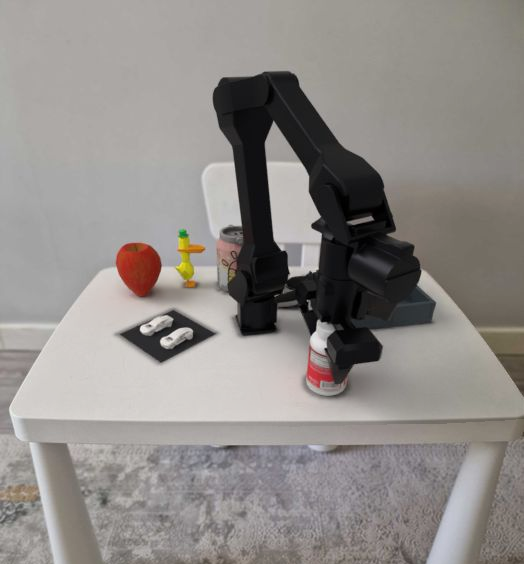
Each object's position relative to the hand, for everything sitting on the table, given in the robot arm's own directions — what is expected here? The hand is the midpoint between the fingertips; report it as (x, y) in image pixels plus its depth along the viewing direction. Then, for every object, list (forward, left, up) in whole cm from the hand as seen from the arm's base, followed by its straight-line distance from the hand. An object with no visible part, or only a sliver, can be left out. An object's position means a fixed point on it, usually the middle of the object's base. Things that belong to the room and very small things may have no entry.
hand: (328, 366), depth 68 cm
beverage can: (-7, +35, -4) cm, 36 cm away
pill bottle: (0, 0, -4) cm, 4 cm away
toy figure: (-17, +37, -4) cm, 41 cm away
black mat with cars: (-23, +19, -4) cm, 30 cm away
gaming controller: (+3, +27, -4) cm, 27 cm away
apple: (-27, +35, -4) cm, 44 cm away
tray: (+17, +22, -3) cm, 28 cm away
